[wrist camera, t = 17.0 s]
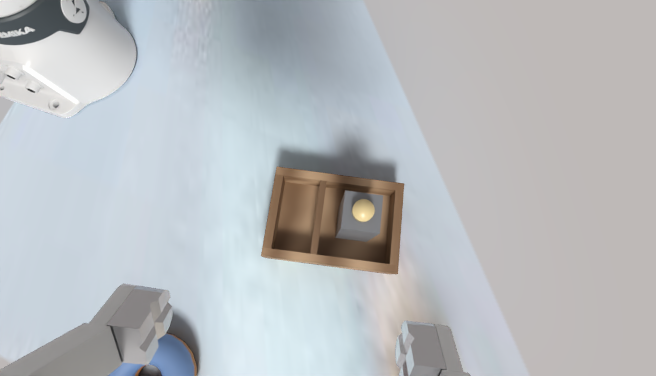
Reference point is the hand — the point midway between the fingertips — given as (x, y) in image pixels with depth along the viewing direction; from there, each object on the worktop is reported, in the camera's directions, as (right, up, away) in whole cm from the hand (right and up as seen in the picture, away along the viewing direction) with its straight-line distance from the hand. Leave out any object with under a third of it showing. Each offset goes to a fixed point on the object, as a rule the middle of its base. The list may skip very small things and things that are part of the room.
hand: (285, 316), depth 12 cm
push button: (+5, 0, +32) cm, 32 cm away
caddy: (+2, 0, +32) cm, 33 cm away
